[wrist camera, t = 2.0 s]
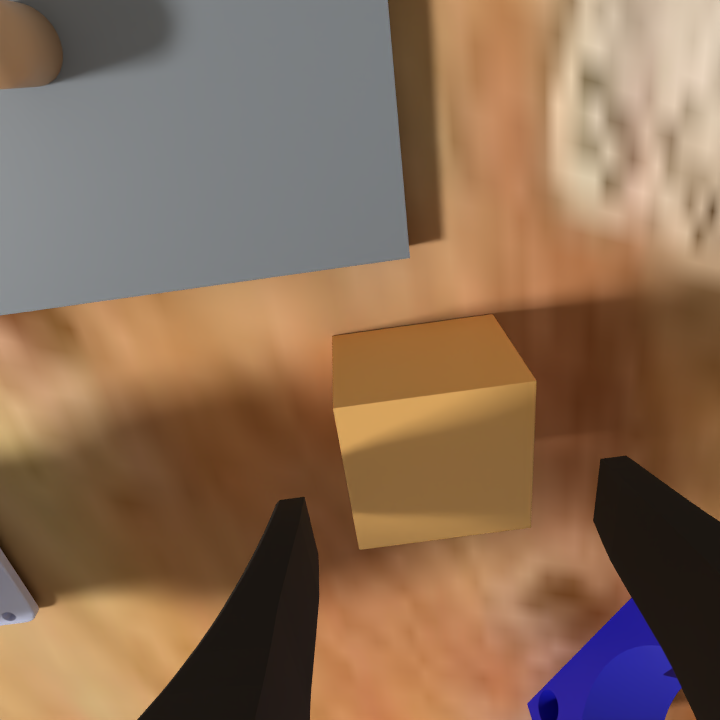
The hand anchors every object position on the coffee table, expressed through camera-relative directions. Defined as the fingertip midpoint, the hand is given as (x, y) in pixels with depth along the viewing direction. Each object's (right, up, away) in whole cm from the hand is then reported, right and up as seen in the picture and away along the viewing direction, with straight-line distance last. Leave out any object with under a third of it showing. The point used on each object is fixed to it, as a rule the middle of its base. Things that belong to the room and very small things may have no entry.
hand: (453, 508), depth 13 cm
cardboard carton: (0, +3, +5) cm, 5 cm away
